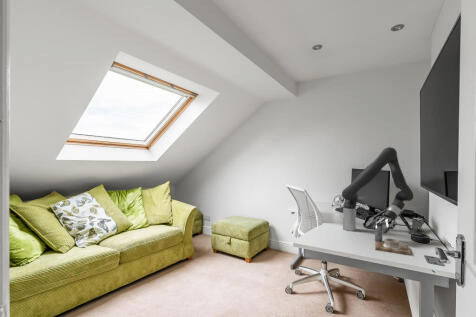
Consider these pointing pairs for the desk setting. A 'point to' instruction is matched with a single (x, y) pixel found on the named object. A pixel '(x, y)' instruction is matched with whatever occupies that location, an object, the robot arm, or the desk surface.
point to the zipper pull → (416, 227)
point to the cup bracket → (392, 246)
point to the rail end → (378, 232)
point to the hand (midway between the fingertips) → (379, 230)
